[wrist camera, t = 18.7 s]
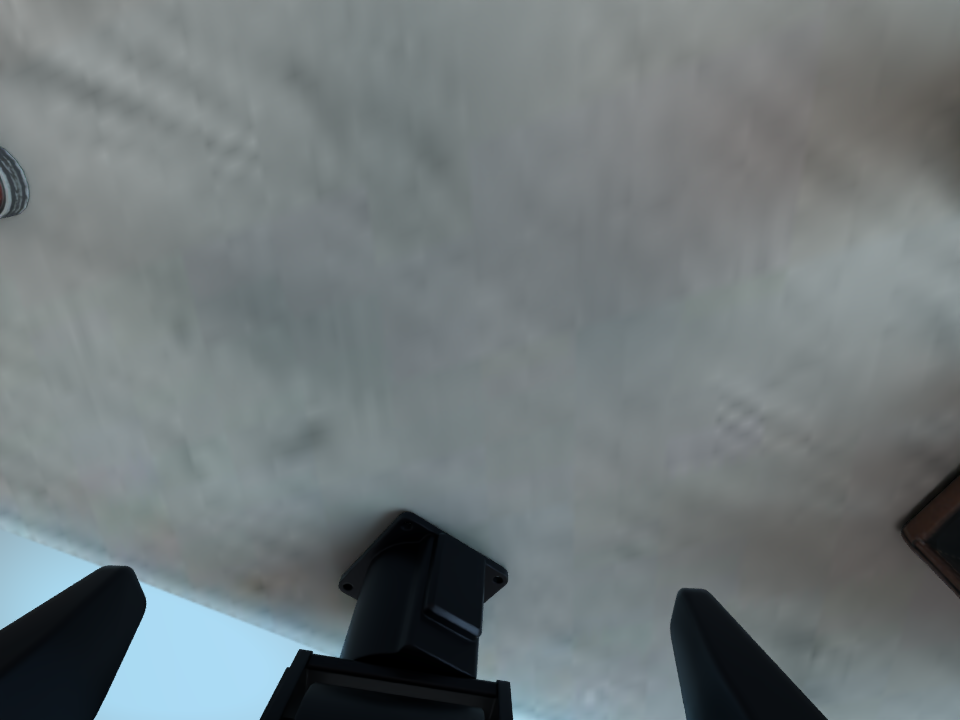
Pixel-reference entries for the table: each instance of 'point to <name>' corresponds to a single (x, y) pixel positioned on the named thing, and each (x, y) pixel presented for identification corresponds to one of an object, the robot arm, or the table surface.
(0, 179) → the lighter
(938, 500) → the letter holder
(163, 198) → the table surface
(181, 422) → the table surface
